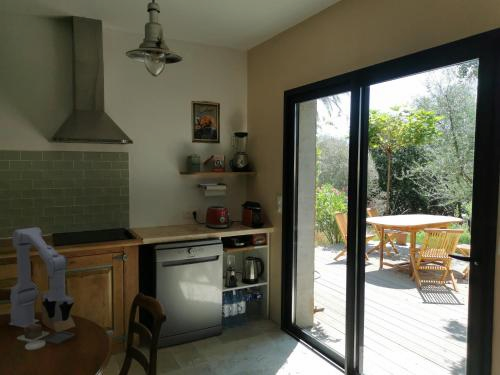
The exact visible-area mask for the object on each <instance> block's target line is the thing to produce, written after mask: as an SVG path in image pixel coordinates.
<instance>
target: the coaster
mask: <svg viewBox="0 0 500 375" xmlns="http://www.w3.org/2000/svg"><path fill="white" fill-rule="evenodd" d="M45 346H46V341H44V340H43V339H38V340H36V341H32V342H27V343H26V344H25V345H24V349H25V350H28V351H34V350H37V349H38V350H39V349H40V348H43V347H45Z"/></svg>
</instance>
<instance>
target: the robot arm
mask: <svg viewBox="0 0 500 375" xmlns="http://www.w3.org/2000/svg"><path fill="white" fill-rule="evenodd" d="M42 236H43V233H42V230H41V228H40V227H38V226H35V227H28V228H21V229H20V228H19V229H14V231H13V233H12V236H11V237H12V247H13V248H16V266H17V267H16V268H17V269H16V270H17V283H16V284H15V285H14V286H13V287H12V288H11V289H10V290H11V291H10V295H9V296H10V297H9V299H10V303H11V305H12V306H11V307H10V323H8V325H9V326H14V327H20V328H24V327H26V326H28V325H31V324H33V323H37V322H39V321H40V320H39V319H35V303H36V301H38V298H39V291H38V287H37V284H35V283H34V282H32V281H31V280H32V278H31V277H32V276H31V259H30V257H31V256H30V248H31V247H32V246H34V248H36V249H37V250H38V255H39V257H40V258H41V259H42V261H43V262H44V263H45V268H46V272H47V277H48V278H49V281H48V282H49V284H48V285H49V290H50V294H45V295H43V300H45V301H44V302H41V305H42V304H43V305H44V307H45V309H46V311H47V313H48V316H49V318H52V317H54V316H55V305H56V301H57V302H63V304H61V305H59V307H60V309H61V313H62V320H63V321H66V320H68V317H69V313H70V314H71V310H72V308H73V305H74V304H75V303H74V298H73V297H70V296H69V295H67V294H66V273H65V272H66V269H67V268H68V259H67V257H66V255H64V254H63V255H62V254H59V253H58V252H57V251H56V249H55V248H54V247H53V246H52V245H47V243H46V242H45V240H44V239H43V237H42Z"/></svg>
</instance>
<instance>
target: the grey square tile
mask: <svg viewBox="0 0 500 375" xmlns="http://www.w3.org/2000/svg"><path fill="white" fill-rule="evenodd" d="M75 336H76V334H75V333H71V332H68V331H64V330H62V331H59V332H54V333H53V334H51V335H50V334H49V335H47V336H45V337H43V338H42V340H44V341H45V342H47V343H51V344H55V345H59V344H61V343H63V342H65V341H68V340H70V339H72V338H73V337H75Z"/></svg>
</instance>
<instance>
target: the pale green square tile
mask: <svg viewBox="0 0 500 375" xmlns="http://www.w3.org/2000/svg"><path fill="white" fill-rule="evenodd" d="M48 336H50V332H47V331H43V330H42V336H39V337H37V338H35V339H33V340H31V339H27V338H25V333H24V334H23V335H22V334H21V335H19V336H17V337H16V340H19V341H23V342H27V343H29V342H32V341H36V340H42V339H44V338H46V337H48Z"/></svg>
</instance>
